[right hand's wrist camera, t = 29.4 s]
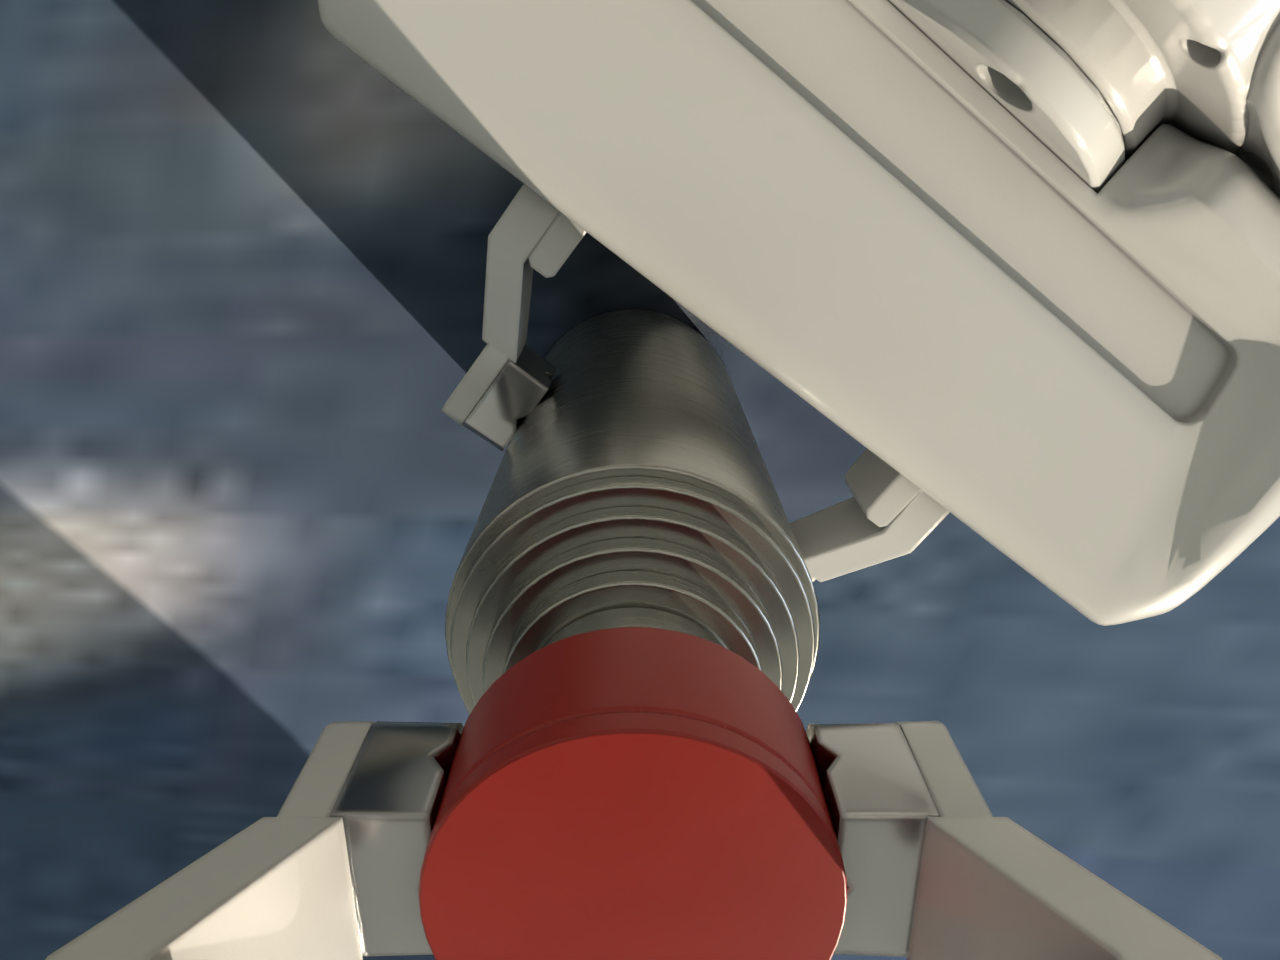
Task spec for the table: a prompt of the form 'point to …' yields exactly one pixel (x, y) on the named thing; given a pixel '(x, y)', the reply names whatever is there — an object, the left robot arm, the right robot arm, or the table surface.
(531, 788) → the cap
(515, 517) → the bottle
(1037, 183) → the left robot arm
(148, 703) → the table surface
